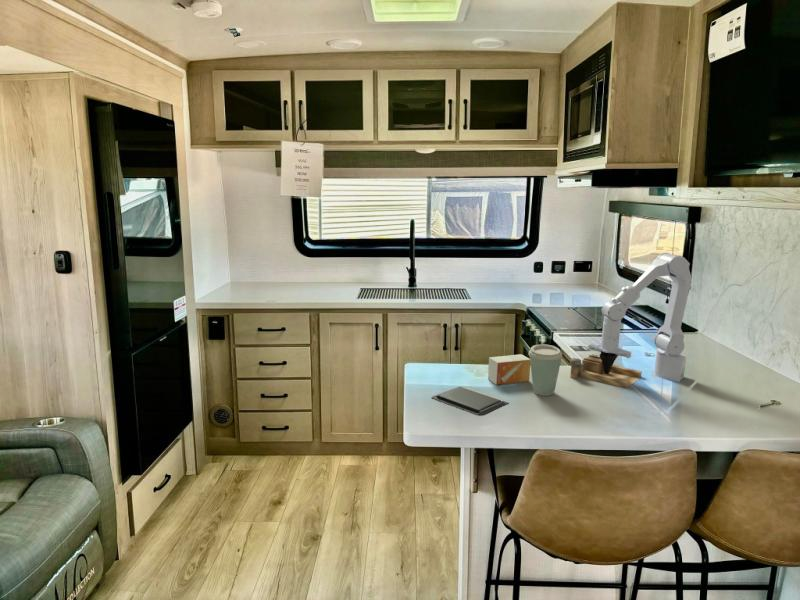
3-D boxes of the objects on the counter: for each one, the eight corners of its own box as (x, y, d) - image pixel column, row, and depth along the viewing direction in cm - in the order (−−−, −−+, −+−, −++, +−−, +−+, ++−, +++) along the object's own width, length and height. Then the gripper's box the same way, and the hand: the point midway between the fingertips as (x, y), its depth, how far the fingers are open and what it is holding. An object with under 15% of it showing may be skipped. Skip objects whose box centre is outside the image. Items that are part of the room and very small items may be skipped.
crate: (606, 371, 207) (607, 357, 206) (597, 377, 201) (599, 362, 200) (589, 368, 211) (591, 354, 210) (581, 373, 205) (582, 359, 204)
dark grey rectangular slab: (429, 393, 181) (461, 382, 191) (429, 399, 181) (460, 388, 192) (479, 413, 167) (510, 400, 177) (479, 419, 167) (510, 405, 178)
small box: (529, 381, 197) (496, 385, 193) (520, 375, 203) (487, 379, 199) (531, 359, 195) (497, 362, 191) (521, 353, 201) (488, 357, 197)
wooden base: (640, 378, 203) (643, 359, 201) (622, 392, 189) (625, 372, 187) (587, 366, 215) (589, 348, 213) (567, 379, 201) (568, 359, 199)
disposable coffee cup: (565, 397, 183) (568, 352, 180) (533, 399, 182) (536, 353, 178) (551, 385, 194) (554, 343, 190) (521, 387, 192) (523, 344, 189)
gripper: (586, 334, 201) (582, 371, 204) (628, 342, 192) (624, 380, 195) (593, 330, 207) (590, 366, 209) (634, 338, 198) (630, 375, 200)
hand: (607, 373), depth 203 cm, fingers closed
